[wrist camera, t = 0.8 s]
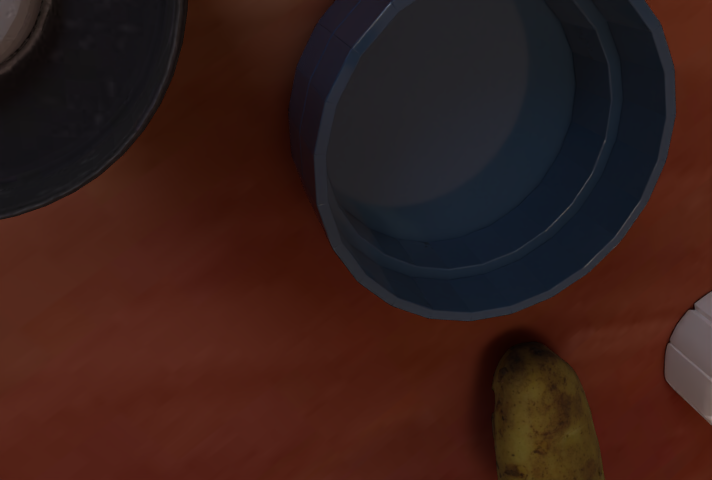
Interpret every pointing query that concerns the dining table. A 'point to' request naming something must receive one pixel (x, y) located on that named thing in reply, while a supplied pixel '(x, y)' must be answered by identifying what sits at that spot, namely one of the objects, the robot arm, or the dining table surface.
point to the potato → (542, 419)
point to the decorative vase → (692, 358)
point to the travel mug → (78, 89)
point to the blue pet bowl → (480, 143)
